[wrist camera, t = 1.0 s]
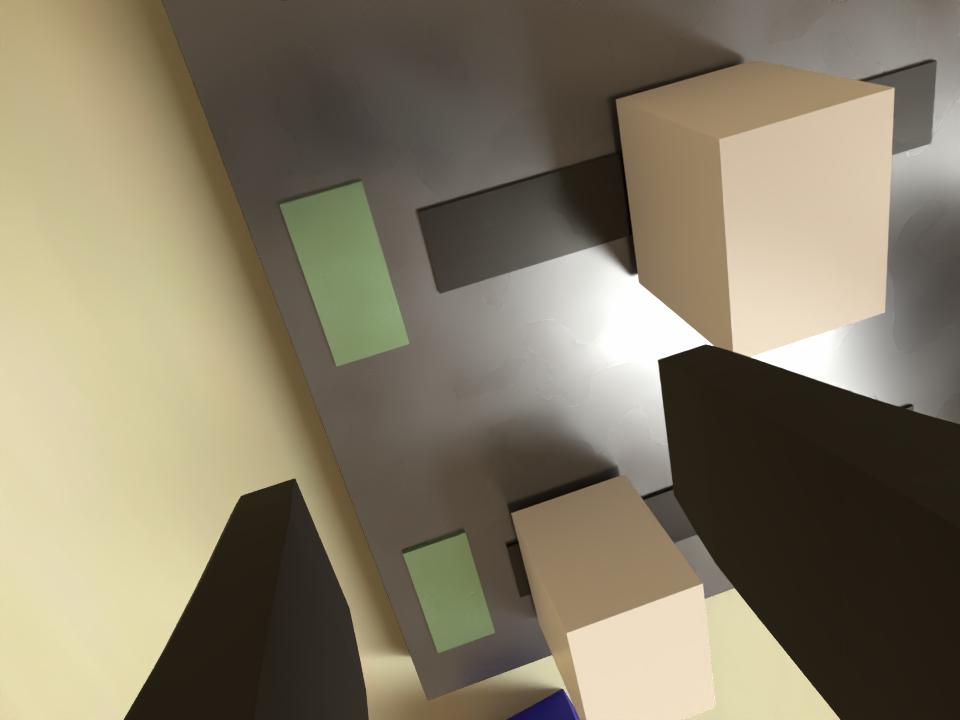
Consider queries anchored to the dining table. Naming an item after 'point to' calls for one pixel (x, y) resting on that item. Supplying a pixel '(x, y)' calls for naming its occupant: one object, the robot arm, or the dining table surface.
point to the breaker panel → (531, 257)
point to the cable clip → (550, 709)
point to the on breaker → (617, 605)
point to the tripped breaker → (761, 201)
